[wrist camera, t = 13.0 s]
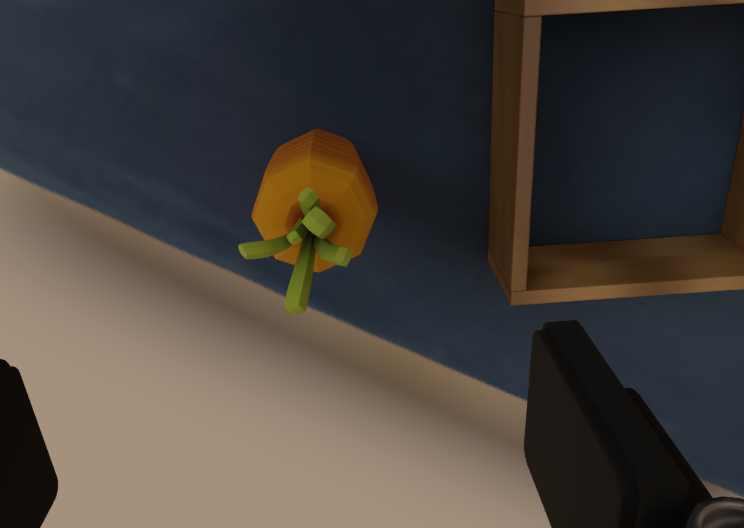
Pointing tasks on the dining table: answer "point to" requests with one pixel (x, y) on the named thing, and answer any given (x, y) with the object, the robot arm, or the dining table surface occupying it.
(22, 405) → the robot arm
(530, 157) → the wooden frame
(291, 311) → the carrot
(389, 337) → the dining table surface
